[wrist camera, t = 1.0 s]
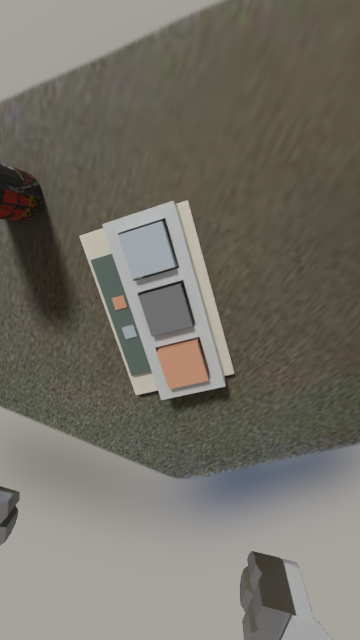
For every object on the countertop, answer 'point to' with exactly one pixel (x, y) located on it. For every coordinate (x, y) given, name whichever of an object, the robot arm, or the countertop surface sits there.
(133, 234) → the key blue
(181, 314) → the key charcoal
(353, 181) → the countertop surface
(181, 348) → the key terracotta
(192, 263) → the keypad
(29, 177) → the deodorant
